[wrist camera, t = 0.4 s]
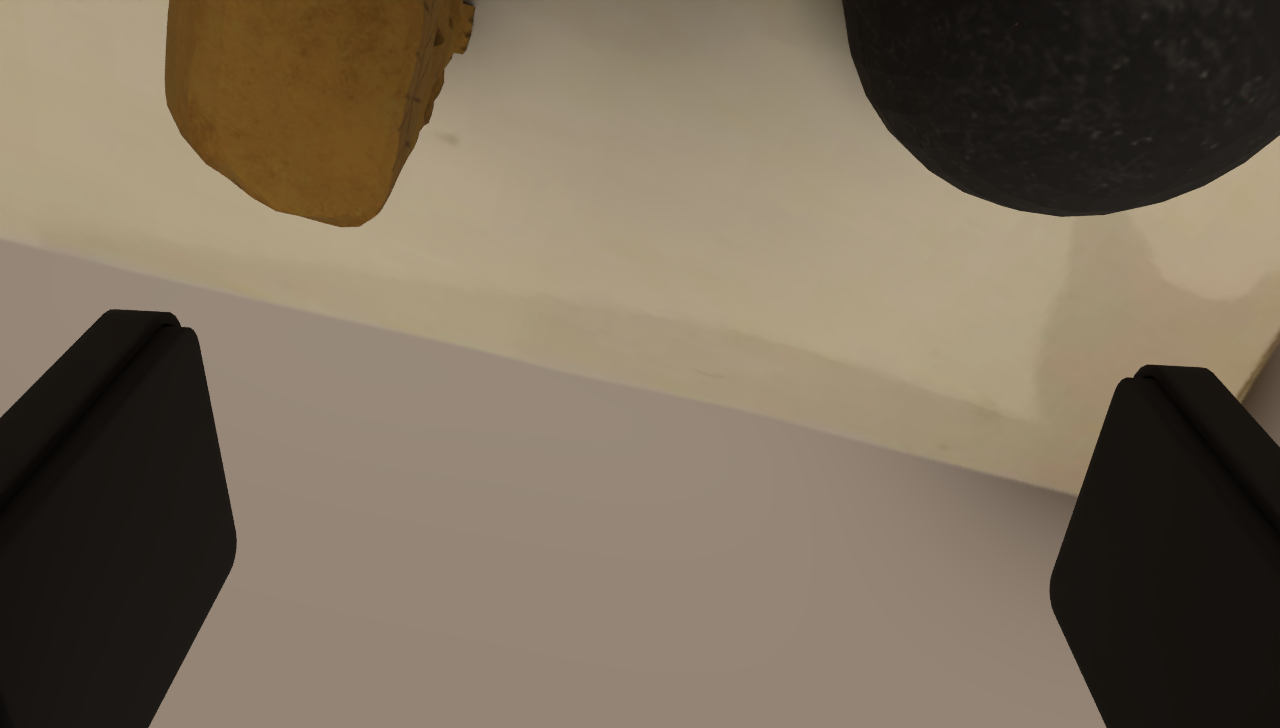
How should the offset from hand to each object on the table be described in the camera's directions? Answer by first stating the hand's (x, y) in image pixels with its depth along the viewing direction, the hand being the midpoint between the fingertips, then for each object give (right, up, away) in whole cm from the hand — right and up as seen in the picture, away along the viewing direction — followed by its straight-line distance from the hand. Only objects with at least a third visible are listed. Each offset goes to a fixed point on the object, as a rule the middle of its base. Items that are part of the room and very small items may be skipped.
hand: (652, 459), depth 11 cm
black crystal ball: (+12, +16, +25) cm, 32 cm away
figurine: (-8, +16, +25) cm, 31 cm away
